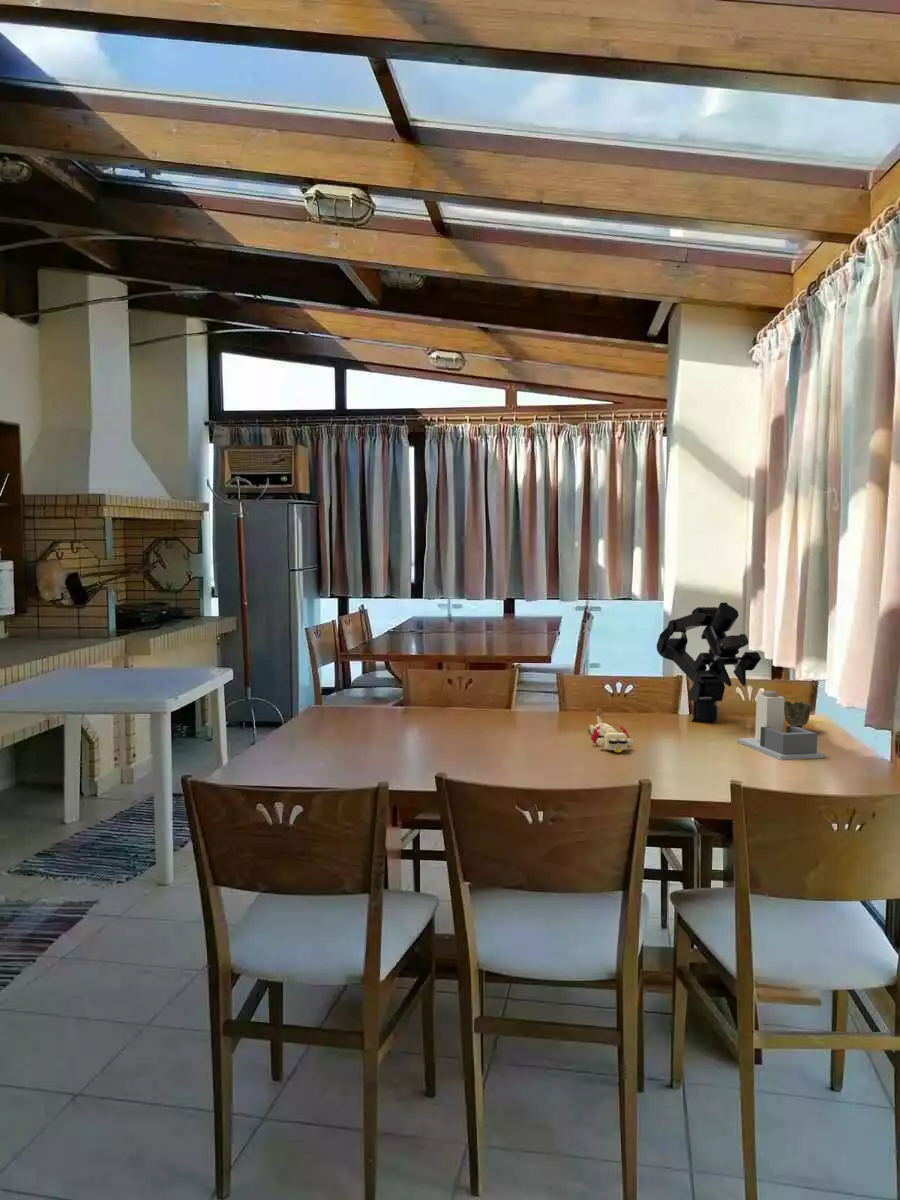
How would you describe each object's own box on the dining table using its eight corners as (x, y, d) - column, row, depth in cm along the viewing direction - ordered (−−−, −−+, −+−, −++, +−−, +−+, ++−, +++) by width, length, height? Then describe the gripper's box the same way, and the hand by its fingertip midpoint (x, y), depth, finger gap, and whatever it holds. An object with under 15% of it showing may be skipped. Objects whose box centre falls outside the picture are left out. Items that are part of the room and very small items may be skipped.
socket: (737, 742, 243) (737, 720, 243) (776, 740, 246) (777, 718, 245) (780, 759, 224) (781, 735, 223) (823, 757, 226) (824, 734, 226)
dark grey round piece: (806, 728, 263) (807, 701, 262) (813, 733, 255) (814, 705, 255) (779, 727, 263) (780, 700, 263) (786, 732, 256) (787, 705, 255)
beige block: (755, 739, 241) (756, 690, 240) (771, 738, 242) (773, 689, 241) (765, 743, 236) (767, 693, 235) (782, 742, 237) (784, 692, 236)
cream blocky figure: (580, 738, 251) (599, 752, 227) (580, 707, 252) (600, 717, 227) (615, 738, 252) (639, 752, 227) (615, 707, 252) (639, 717, 227)
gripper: (699, 624, 256) (718, 668, 246) (758, 624, 260) (779, 667, 250) (685, 648, 264) (703, 692, 254) (742, 648, 268) (762, 690, 258)
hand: (737, 685), depth 254 cm, fingers open, 4 cm apart
